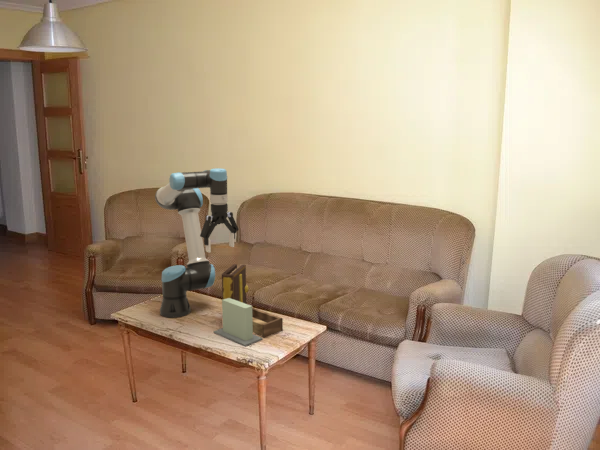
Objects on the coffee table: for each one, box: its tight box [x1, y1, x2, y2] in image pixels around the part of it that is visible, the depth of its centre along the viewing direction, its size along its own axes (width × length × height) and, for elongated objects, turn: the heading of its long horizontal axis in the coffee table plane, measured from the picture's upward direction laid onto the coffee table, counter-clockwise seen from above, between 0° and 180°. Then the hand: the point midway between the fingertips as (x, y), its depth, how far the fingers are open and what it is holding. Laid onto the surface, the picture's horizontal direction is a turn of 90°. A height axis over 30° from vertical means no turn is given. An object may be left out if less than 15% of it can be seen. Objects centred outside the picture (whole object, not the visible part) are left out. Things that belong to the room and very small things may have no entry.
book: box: [221, 263, 249, 304], centre depth 260 cm, size 22×8×25 cm, turn 168°
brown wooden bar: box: [252, 317, 267, 337], centre depth 246 cm, size 17×4×5 cm, turn 47°
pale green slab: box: [221, 298, 254, 341], centre depth 239 cm, size 16×4×15 cm, turn 47°
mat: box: [213, 327, 263, 347], centre depth 240 cm, size 22×10×1 cm, turn 47°
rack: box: [252, 307, 284, 339], centre depth 249 cm, size 20×12×6 cm, turn 47°
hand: (220, 249), depth 243 cm, fingers open, 13 cm apart
